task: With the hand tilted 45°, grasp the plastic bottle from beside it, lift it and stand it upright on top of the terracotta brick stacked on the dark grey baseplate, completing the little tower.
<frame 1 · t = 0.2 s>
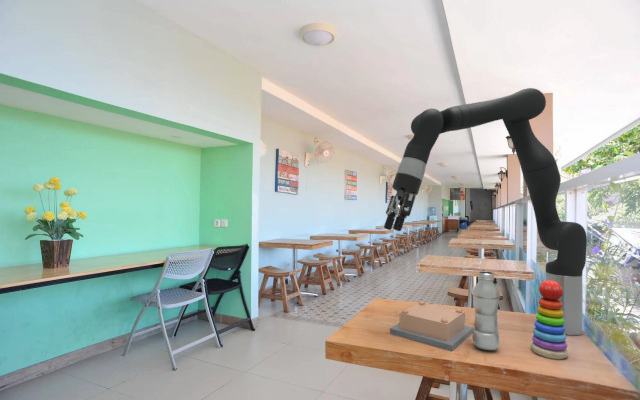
hand: (391, 229, 96), 31 cm above the table, tool tilted 20°, fingers open, 8 cm apart
stacking toy: (549, 354, 87), on the table
brick tower base: (432, 332, 100), on the table
plastic bottle: (485, 349, 89), on the table
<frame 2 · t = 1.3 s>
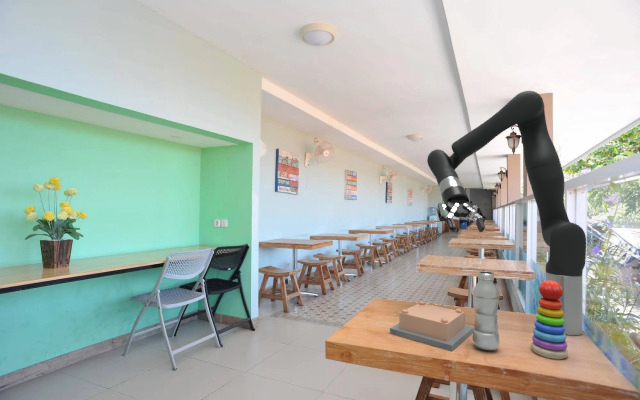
hand: (468, 230, 101), 30 cm above the table, tool tilted 45°, fingers open, 8 cm apart
nothing on the table moved.
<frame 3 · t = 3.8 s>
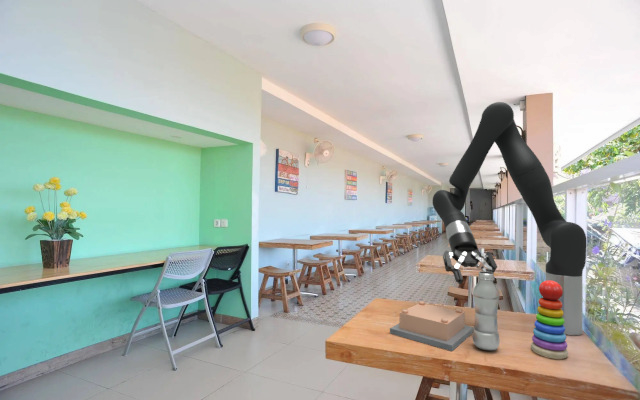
hand: (476, 283, 95), 16 cm above the table, tool tilted 45°, fingers open, 8 cm apart
nothing on the table moved.
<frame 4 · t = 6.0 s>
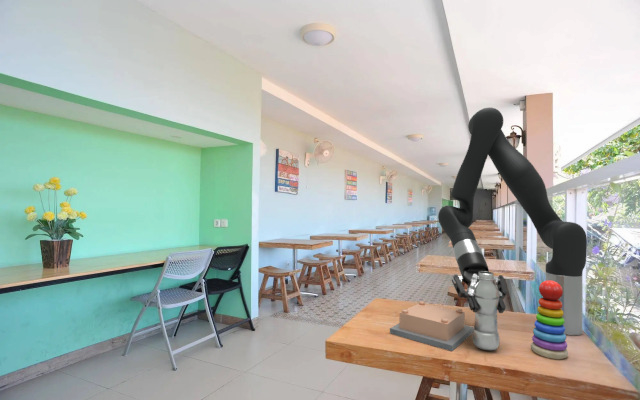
hand: (489, 311, 88), 10 cm above the table, tool tilted 45°, fingers closed on plastic bottle, 6 cm apart
plastic bottle: (485, 349, 89), on the table, touching gripper
everything else where it was.
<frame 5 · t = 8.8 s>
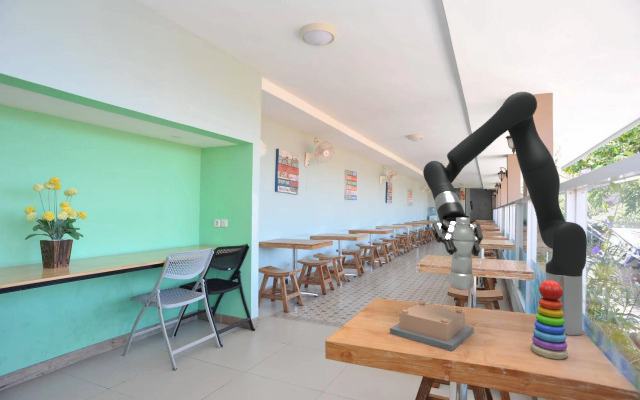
hand: (464, 253, 92), 25 cm above the table, tool tilted 45°, fingers closed on plastic bottle, 6 cm apart
plastic bottle: (460, 290, 94), point 14 cm above the table, touching gripper
everything else where it was.
when the fingers open (18 cm above the table, at t = 11.6 s): plastic bottle drops 1 cm, resting on brick tower base.
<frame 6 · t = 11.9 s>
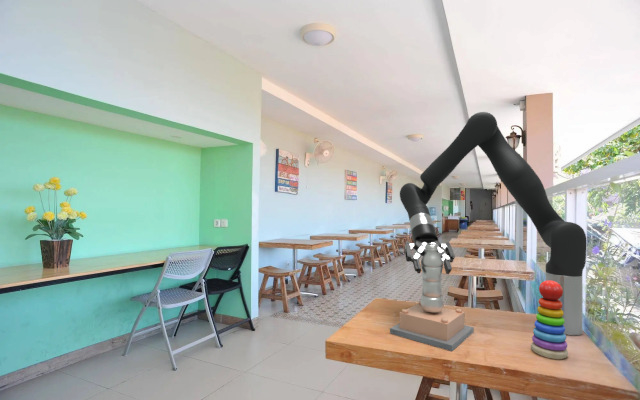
hand: (434, 272, 99), 18 cm above the table, tool tilted 45°, fingers open, 8 cm apart
plastic bottle: (432, 312, 100), point 6 cm above the table, touching brick tower base
everything else where it was.
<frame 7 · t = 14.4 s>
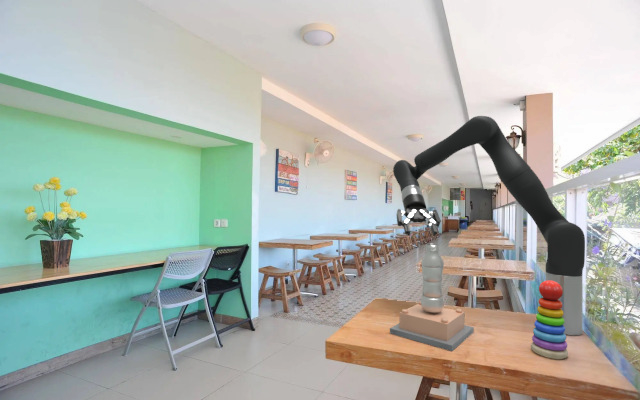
hand: (421, 234, 112), 28 cm above the table, tool tilted 45°, fingers open, 8 cm apart
nothing on the table moved.
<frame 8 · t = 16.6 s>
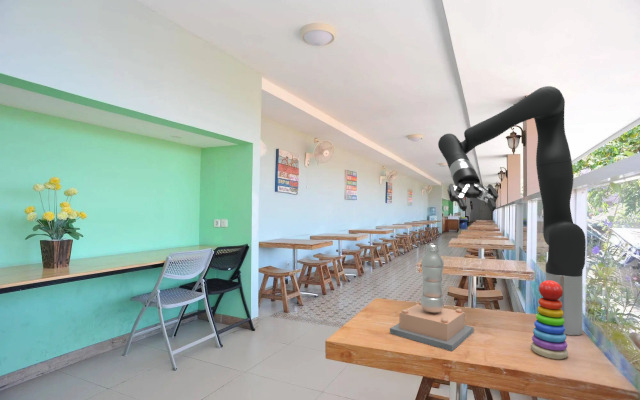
hand: (479, 209, 102), 37 cm above the table, tool tilted 45°, fingers open, 8 cm apart
nothing on the table moved.
at the end: plastic bottle inside the target area on the brick tower base (0.2 cm from its centre), point 5.8 cm above the brick tower base's base; plastic bottle tilted 0°; the gripper is holding nothing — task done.
